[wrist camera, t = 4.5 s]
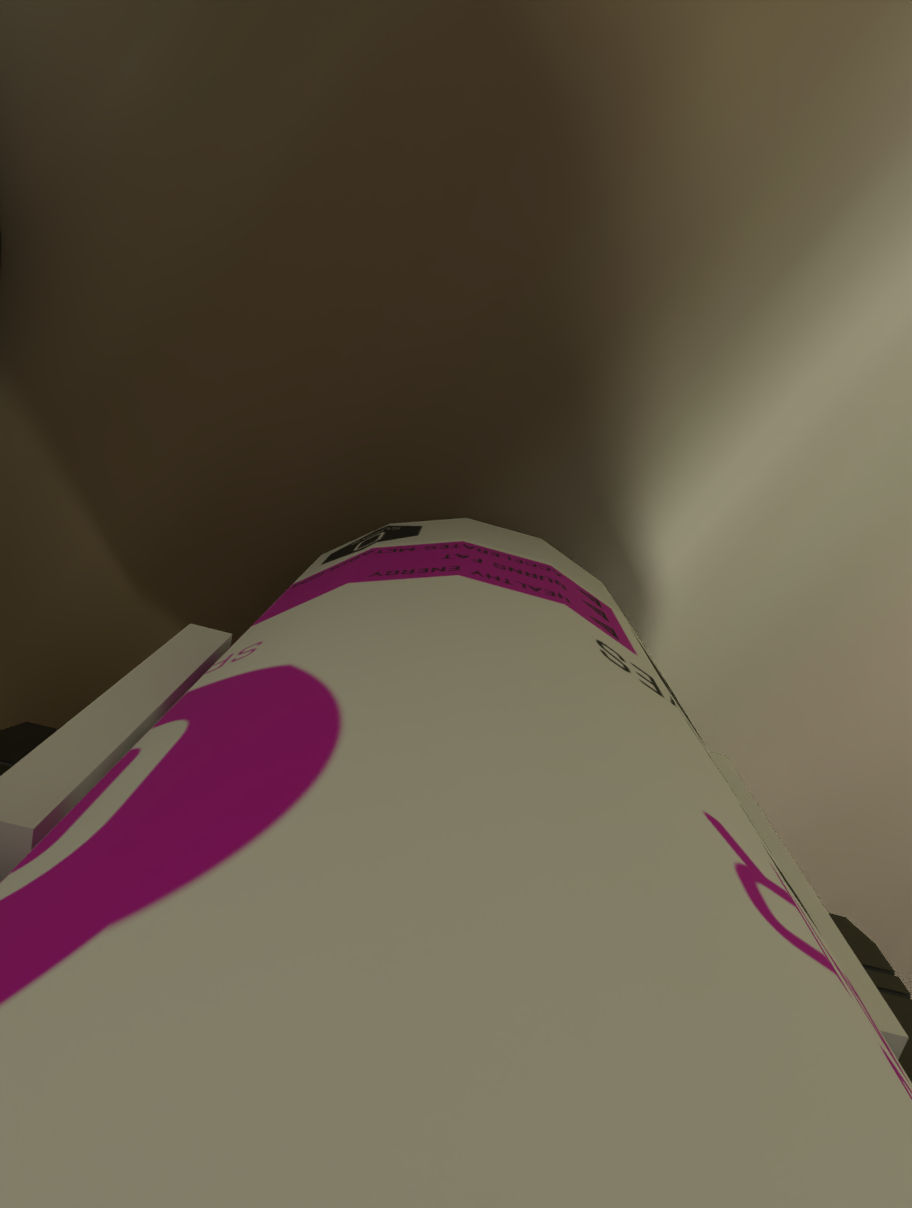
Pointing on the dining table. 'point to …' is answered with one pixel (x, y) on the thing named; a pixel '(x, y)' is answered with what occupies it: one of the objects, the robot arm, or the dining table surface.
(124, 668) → the dining table surface
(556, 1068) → the supplement can
